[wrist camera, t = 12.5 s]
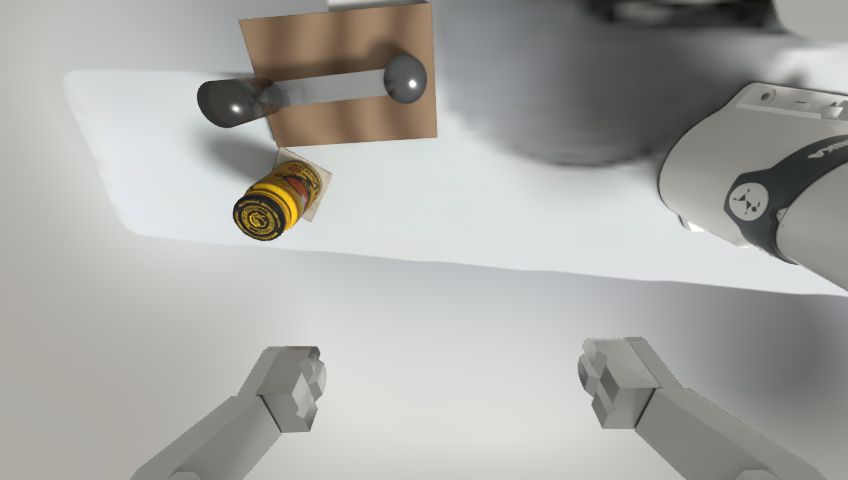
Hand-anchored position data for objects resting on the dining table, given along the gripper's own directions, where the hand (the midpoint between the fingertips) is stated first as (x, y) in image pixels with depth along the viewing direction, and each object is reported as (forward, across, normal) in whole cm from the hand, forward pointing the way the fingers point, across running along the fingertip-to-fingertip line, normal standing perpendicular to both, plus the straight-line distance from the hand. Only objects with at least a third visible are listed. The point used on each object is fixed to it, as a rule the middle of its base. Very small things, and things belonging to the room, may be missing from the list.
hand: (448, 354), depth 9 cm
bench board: (+33, +10, -7) cm, 35 cm away
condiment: (+33, +20, +6) cm, 39 cm away
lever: (+31, +10, -6) cm, 33 cm away
